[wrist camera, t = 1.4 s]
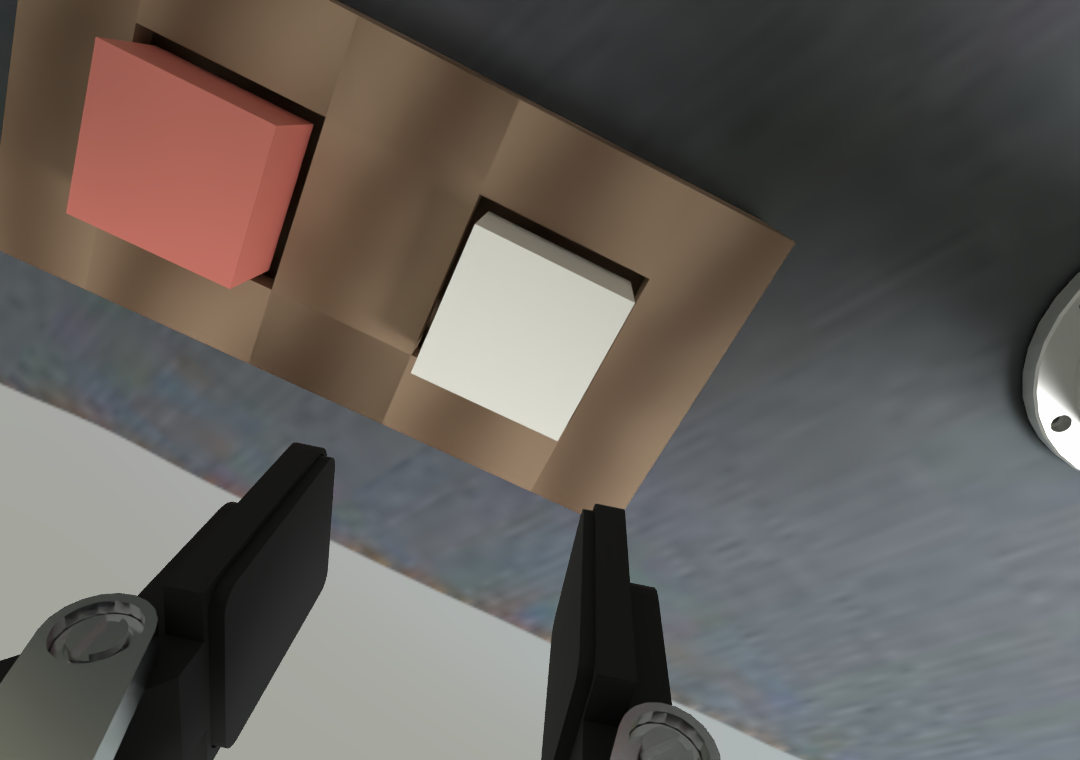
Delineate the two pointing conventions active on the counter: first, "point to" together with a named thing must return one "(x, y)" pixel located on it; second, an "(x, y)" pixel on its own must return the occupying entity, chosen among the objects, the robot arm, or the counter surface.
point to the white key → (523, 326)
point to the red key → (184, 162)
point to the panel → (396, 228)
